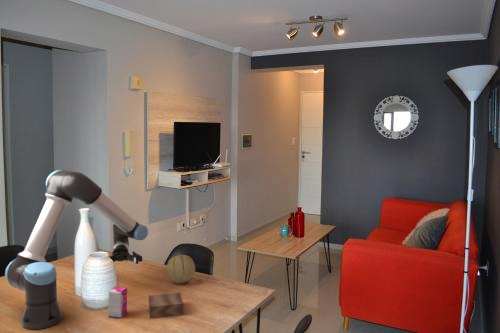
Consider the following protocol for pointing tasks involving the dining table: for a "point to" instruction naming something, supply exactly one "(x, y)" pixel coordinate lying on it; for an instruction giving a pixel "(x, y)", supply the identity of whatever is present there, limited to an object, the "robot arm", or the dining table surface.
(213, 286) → the dining table surface
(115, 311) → the supplement box
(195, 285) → the dining table surface
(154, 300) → the walnut block
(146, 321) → the dining table surface
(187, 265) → the cantaloupe
